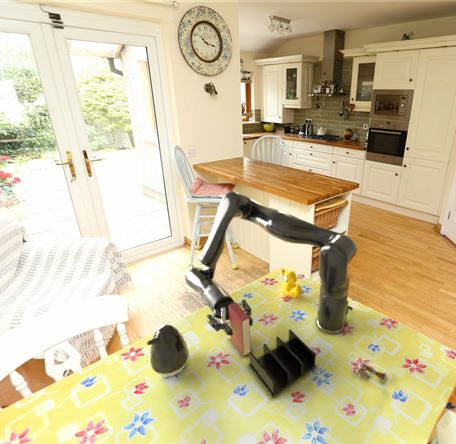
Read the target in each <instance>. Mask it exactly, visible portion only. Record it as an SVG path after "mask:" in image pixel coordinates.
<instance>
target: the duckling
mask: <svg viewBox="0 0 456 444" xmlns="http://www.w3.org/2000/svg"><path fill="white" fill-rule="evenodd" d="M281 275H282V277H283V280H284V282H283V283H282V288H283V291H284V294H285V295H287V296H288V297H291V298H294V299H298V298H300V297H302V296H303V295H302V294H303V288H302V286H301V284H296V282H297V281H298V277H297V274H296V273H295V272H294V271H292V270H287V271H285V269H281Z"/></svg>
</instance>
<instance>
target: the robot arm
mask: <svg viewBox="0 0 456 444" xmlns="http://www.w3.org/2000/svg"><path fill="white" fill-rule="evenodd" d="M233 219H239V220H243V221H247V222H250V223H252V224H255V225H257V226H259V227H260V228H261V229H263V231H265V233H267V234H268V235H270V236H272V237H274V238H276V239H279V240H280V241H283V242H286V243H289V244H296V245H298V244H299V245H306V246H307V245H308V246H313V247H316V248H319V254H318V255H319V256H318V276H319V279H320V281H319V282H320V283H319V293H318V295H319V297H318V307H317V319H316V325H317V327H318V328H319V330H321V331H322V332H325V333H327V334H338V333H340V332H342V331H343V330H344V328H345V324H347V317H348V315H349V310H350V311H353V307H352V306H350V305H349V301H348V296H349V288H350V276H349V274H348V266H349V263H350V262H351V261H352V260H353V259H354V258H355V256H356V254H357V252H358V246H357V244H356V243H355V241H354V240H353V239H352V238H351V237H350V236H348V235H347V234H343V233H341V232H337V231H334V230H331V229H328V228H324V227H321V226H318V225H315V224H313V223H311V222H309V221H306V220H303V219H301V218H299V217H298V216H294V215H292V214H290V213H287V212H285V211H282V210H280V209H276V208H272V207H268V206H264V205H262V204H261V203H259V202H257V201H255V200H254V199H252V198H250V197H248V196H247V195H245V194H242V193H240V192H237V191H228V192H227V193H225V194H224V195H223V197H222V198H221V200H220V203H219V206H218V209H217V212H216V216H215V218H214V222H213V225H212V228H211V231H210V233H209V236H208V238H207V240H206V243H205V244H204V247H203V248H202V251H201V252H200V254H199V257H198V261H199V262H200V264H201V265H204V266H205V268H204V267H203V268H202V267H197V266H191V267H189V268H188V269H187V270H186V272H185V274H184V281H185V283H186V285H187V286H188V287H189V288H190V289H192V290H193V291H194V292H195V293H198V294H199V295H200V297H201V298H202V299H203V300H204V302H205V304H206V306H207V308H209V310H210V311H211V312H212V314H210V313H209V314H207V315H206V320H207V321H206V322H207V323H208V324H209V326H210V327H211V328H213V330H214V331H216V332H219V331H220V330H222V331H223V332H224V333H225V334H226V335H227V336H230V337H231V336H232V335H233V331H232V329H231V328H230V324H228V323H227V321H228V322H229V321H230V317H229V305H232V304H234V303H237V304H238V305H239V306H240V307H241V309H242V310H243V311H244V312H245V313H246V314H247V315H248V316H249V323H250V327H252V326H253V323H254V319H253V317H252V307H251V306H250V304H249V303H248V302H247V300H246V299H242V300H241V302H237V301H235V300H234V298H233V297H232V296H231V295H230V294H229V293H228V292H227V291H226V289H225V288H223V287H222V286H221V285H220V284H219V283H218V282H217V281H216V280H215V273H216V269H217V265H218V262H219V260H220V258H221V257H222V254H223V252H224V251H225V247H226V239H227V231H228V229H229V225H230V224H231V222H232V220H233ZM218 320H220V321H221V322H219V321H218Z"/></svg>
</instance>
